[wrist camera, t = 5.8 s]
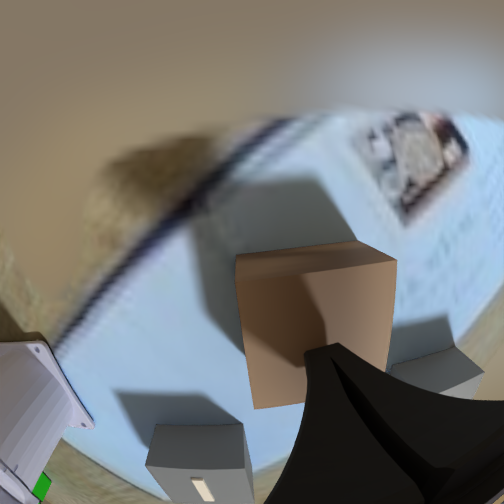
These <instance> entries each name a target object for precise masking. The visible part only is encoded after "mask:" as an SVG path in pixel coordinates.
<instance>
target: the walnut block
mask: <svg viewBox="0 0 504 504" xmlns="http://www.w3.org/2000/svg"><path fill="white" fill-rule="evenodd" d="M396 275H397V260H396V259H394V258H392V257H390V256H388V255H386V254H385V253H383V252H381V251H379V250H377V249H375V248H373V247H370V246H368V245H366V244H364V243H362V242H360V241H358V240H357V241H348V242H340V243H331V244H323V245H315V246H306V247H298V248H290V249H281V250H273V251H265V252H256V253H248V254H239V255H236V267H235V287H236V294H237V301H238V308H239V315H240V322H241V329H242V335H243V342H244V349H245V355H246V362H247V368H248V374H249V381H250V387H251V393H252V399H253V405H254V409H263V408H271V407H278V406H285V405H292V404H298V403H304V402H305V400H306V393H307V376H306V369H305V362H304V355H303V354H304V353H305V352H306V351H307V350H311V349H315V348H319V347H323V346H326V345H330V344H333V343H337V342H339V343H340V344H342V345H343V346H345V347H346V348H347V349H349V350H350V351H352V352H353V353H355V354H356V355H357V356H359V357H360V358H362V359H363V360H365V361H367V362H368V363H370V364H371V365H373V366H375V367H376V368H378V369H380V370H382V371H383V372H385V369H386V364H387V358H388V352H389V345H390V338H391V331H392V323H393V313H394V303H395V291H396Z"/></svg>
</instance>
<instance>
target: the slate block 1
mask: <svg viewBox="0 0 504 504" xmlns="http://www.w3.org/2000/svg"><path fill="white" fill-rule="evenodd" d="M145 466H146V468H147V469H148V471H149V472H150V473H151V475H152V476H153V477H154V479H155V480H156V481H157V483H158V484H159V485H160V486H161V488H162V489H163V490H164V492H165V493H166V494H167V495H168V496H169V498H170V499H171V500H172V501H173V502H174V503H186V504H255V503H254V489H253V475H252V464H251V460H250V455H249V450H248V446H247V441H246V436H245V431H244V426H243V424H229V425H160V424H156V427H155V431H154V434H153V438H152V441H151V445H150V448H149V452H148V456H147V459H146V463H145Z"/></svg>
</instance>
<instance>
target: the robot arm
mask: <svg viewBox="0 0 504 504" xmlns="http://www.w3.org/2000/svg"><path fill="white" fill-rule="evenodd" d="M303 355H304V362H305V369H306V376H307V393H306V400H305V407H304V412H303V417H302V421H301V425H300V429H299V432H298V435H297V438H296V441H295V444H294V447H293V449H292V452H291V454H290V457H289V459H288V461H287V463H286V465H285V467H284V470H283V472H282V474H281V476H280V478H279V479H278V481H277V483H276V485H275V486H274V488H273V490H272V491H271V493H270V494H269V496H268V498H267V499H266V501H265V502H264V504H493V503H494V502H495V501H496V500H497V499H499V498H500V497H501V496H502V495H503V494H504V400H503V401H490V400H488V401H487V400H472V399H464V398H457V397H452V396H447V395H443V394H439V393H435V392H431V391H428V390H425V389H422V388H419V387H416V386H414V385H411V384H408V383H406V382H404V381H401V380H399V379H397V378H395V377H393V376H391V375H389V374H387V373H385V372H383V371H382V370H380V369H378V368H376V367H375V366H373V365H371V364H370V363H368V362H367V361H365V360H363V359H362V358H360V357H359V356H357V355H356V354H355V353H353V352H352V351H350V350H349V349H347V348H346V347H345V346H343V345H342V344H340V343H339V342H337V343H333V344H330V345H326V346H323V347H319V348H315V349H311V350H307V351H306V352H305V353H304V354H303ZM67 426H70V427H77V428H84V429H94V428H95V423H94V422H93V420H92V419H91V417H90V416H89V415H88V413H87V412H86V410H85V409H84V407H83V406H82V404H81V403H80V401H79V400H78V398H77V397H76V395H75V393H74V392H73V390H72V389H71V387H70V385H69V384H68V382H67V380H66V379H65V377H64V375H63V373H62V372H61V370H60V368H59V366H58V364H57V363H56V361H55V359H54V357H53V355H52V353H51V351H50V349H49V347H48V345H47V344H46V343H45V342H44V341H41V340H40V341H23V342H0V504H38V503H39V500H38V499H37V498H36V497H34V496H33V495H32V494H31V493H32V491H33V489H34V487H35V485H36V483H37V481H38V479H39V477H40V475H41V473H42V471H43V469H44V467H45V465H46V463H47V462H48V460H49V458H50V456H51V454H52V452H53V451H54V449H55V447H56V445H57V443H58V442H59V440H60V438H61V436H62V435H63V433H64V431H65V430H66V428H67ZM501 504H504V501H503V502H502V503H501Z"/></svg>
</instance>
